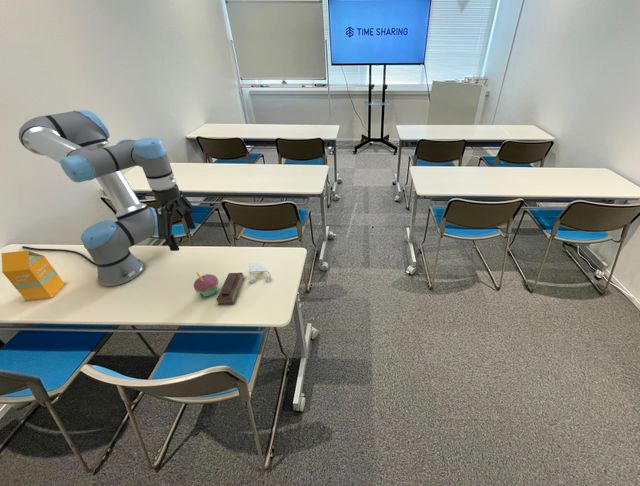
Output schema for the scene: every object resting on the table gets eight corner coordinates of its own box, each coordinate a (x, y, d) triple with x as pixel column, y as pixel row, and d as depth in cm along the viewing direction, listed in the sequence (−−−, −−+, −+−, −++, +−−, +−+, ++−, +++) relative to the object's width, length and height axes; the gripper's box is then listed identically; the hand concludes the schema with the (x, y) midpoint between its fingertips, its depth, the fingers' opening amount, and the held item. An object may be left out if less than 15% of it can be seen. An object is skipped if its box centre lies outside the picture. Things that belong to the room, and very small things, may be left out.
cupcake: (212, 301, 110) (202, 277, 104) (192, 298, 112) (182, 274, 106) (225, 285, 118) (217, 262, 111) (206, 282, 119) (197, 259, 113)
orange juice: (51, 297, 113) (19, 257, 103) (25, 300, 112) (-10, 260, 101) (65, 283, 120) (36, 244, 109) (40, 286, 118) (9, 246, 108)
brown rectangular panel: (233, 304, 109) (231, 296, 107) (218, 304, 109) (215, 296, 107) (244, 278, 121) (241, 270, 119) (230, 278, 121) (228, 271, 119)
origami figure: (242, 282, 119) (239, 273, 116) (251, 269, 126) (249, 260, 123) (269, 286, 117) (267, 277, 114) (278, 272, 124) (276, 263, 121)
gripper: (155, 204, 86) (178, 260, 97) (192, 171, 107) (207, 220, 118) (129, 205, 86) (155, 260, 97) (171, 171, 107) (188, 220, 118)
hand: (184, 238), depth 108 cm, fingers open, 13 cm apart
